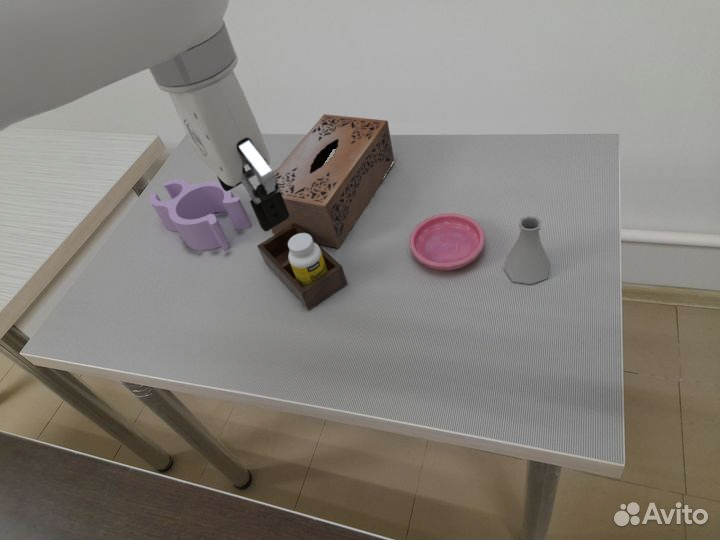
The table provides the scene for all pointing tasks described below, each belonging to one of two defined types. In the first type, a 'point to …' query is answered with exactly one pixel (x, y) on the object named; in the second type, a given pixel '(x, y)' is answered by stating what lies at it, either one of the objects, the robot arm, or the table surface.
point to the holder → (278, 262)
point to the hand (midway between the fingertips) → (255, 203)
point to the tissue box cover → (334, 176)
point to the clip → (199, 212)
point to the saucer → (447, 241)
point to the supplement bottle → (305, 259)
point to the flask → (528, 254)
